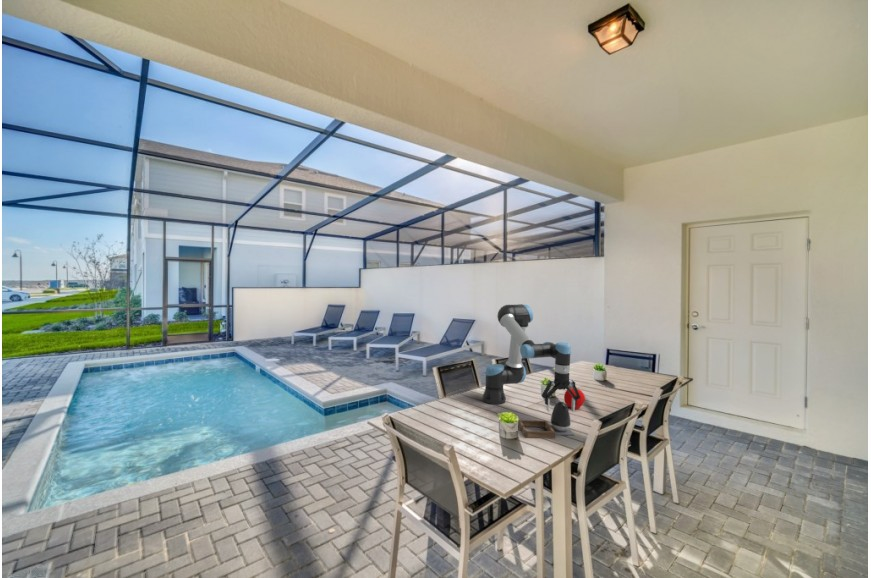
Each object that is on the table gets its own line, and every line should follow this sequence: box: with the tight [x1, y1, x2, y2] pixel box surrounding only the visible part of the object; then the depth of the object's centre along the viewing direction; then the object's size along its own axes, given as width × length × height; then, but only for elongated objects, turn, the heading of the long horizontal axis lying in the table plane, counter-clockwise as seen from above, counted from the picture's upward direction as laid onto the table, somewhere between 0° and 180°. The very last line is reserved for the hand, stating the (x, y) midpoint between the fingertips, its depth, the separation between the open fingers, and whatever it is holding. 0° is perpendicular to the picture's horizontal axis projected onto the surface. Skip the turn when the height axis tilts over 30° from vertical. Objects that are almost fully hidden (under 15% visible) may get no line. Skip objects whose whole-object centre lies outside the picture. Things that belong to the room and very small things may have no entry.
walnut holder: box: [518, 419, 556, 439], centre depth 201 cm, size 15×15×3 cm
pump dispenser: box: [550, 400, 572, 431], centre depth 203 cm, size 10×10×15 cm
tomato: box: [563, 387, 586, 410], centre depth 238 cm, size 12×12×13 cm
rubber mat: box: [549, 424, 575, 436], centre depth 203 cm, size 12×11×1 cm
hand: (560, 410), depth 203 cm, fingers open, 13 cm apart
